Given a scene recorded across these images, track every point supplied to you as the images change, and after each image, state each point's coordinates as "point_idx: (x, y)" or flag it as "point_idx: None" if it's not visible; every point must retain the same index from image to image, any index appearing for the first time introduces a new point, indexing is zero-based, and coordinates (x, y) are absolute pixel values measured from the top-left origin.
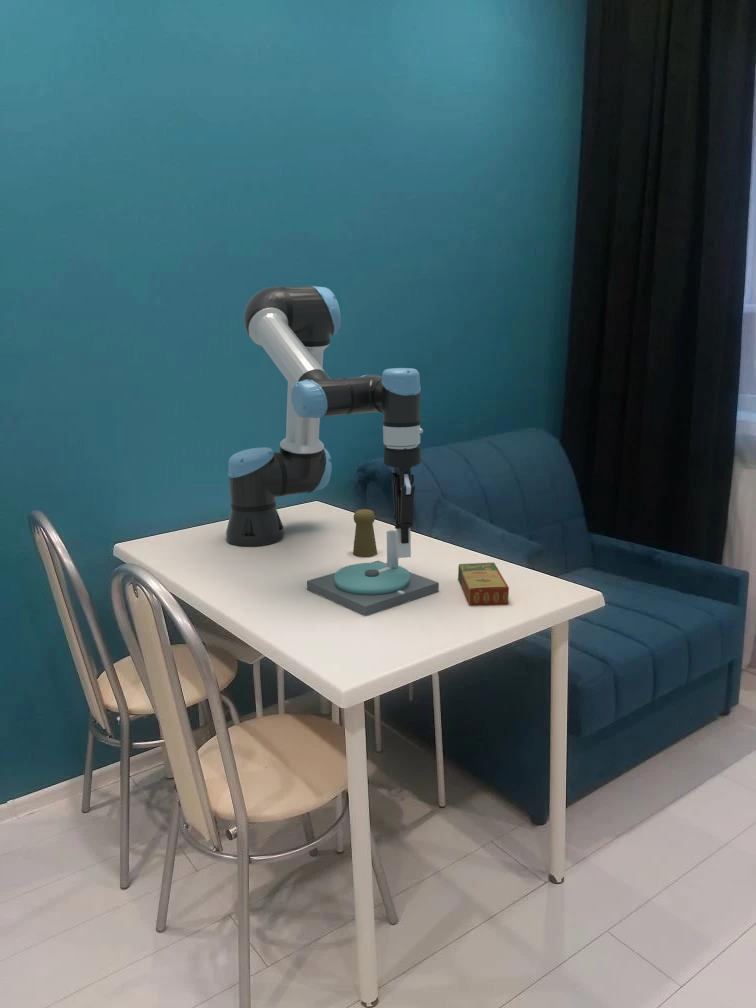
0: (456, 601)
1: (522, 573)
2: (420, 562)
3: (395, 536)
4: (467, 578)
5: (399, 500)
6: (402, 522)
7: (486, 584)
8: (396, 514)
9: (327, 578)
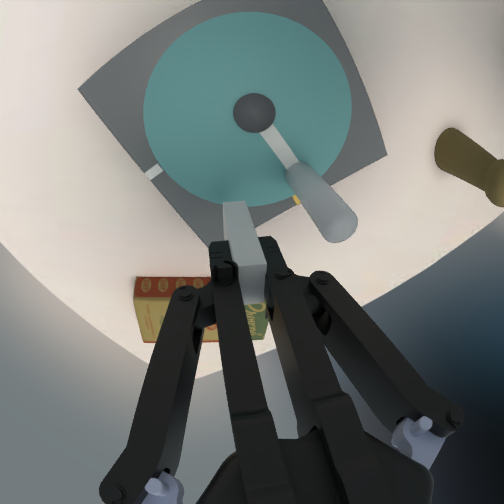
0: (156, 262)
1: (266, 345)
2: (373, 230)
3: (318, 227)
4: None
5: (228, 397)
6: (168, 312)
7: (150, 323)
8: (289, 302)
9: (304, 8)
